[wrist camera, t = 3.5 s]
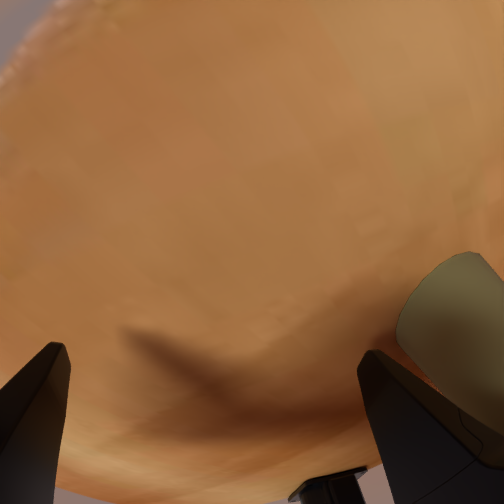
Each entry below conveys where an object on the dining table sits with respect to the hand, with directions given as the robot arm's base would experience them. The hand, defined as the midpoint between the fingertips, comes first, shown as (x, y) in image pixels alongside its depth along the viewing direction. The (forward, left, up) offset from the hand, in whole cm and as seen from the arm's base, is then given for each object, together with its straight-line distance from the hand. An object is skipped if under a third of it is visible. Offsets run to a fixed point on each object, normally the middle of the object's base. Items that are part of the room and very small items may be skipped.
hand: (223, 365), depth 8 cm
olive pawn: (0, -11, -3) cm, 11 cm away
